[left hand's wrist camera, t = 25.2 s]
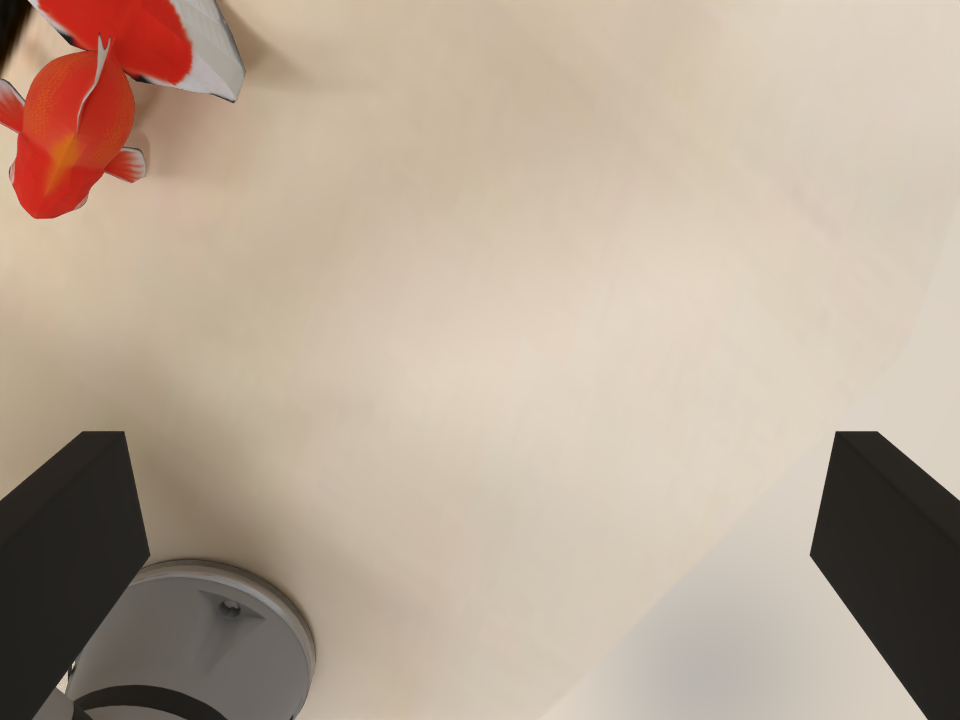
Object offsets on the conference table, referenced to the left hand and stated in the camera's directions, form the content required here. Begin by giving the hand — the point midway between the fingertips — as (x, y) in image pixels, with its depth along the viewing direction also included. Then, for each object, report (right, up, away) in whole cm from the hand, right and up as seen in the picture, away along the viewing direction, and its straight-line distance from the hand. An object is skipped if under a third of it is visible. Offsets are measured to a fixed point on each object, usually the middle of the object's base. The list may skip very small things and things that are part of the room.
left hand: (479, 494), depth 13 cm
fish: (-17, +18, +21) cm, 32 cm away
